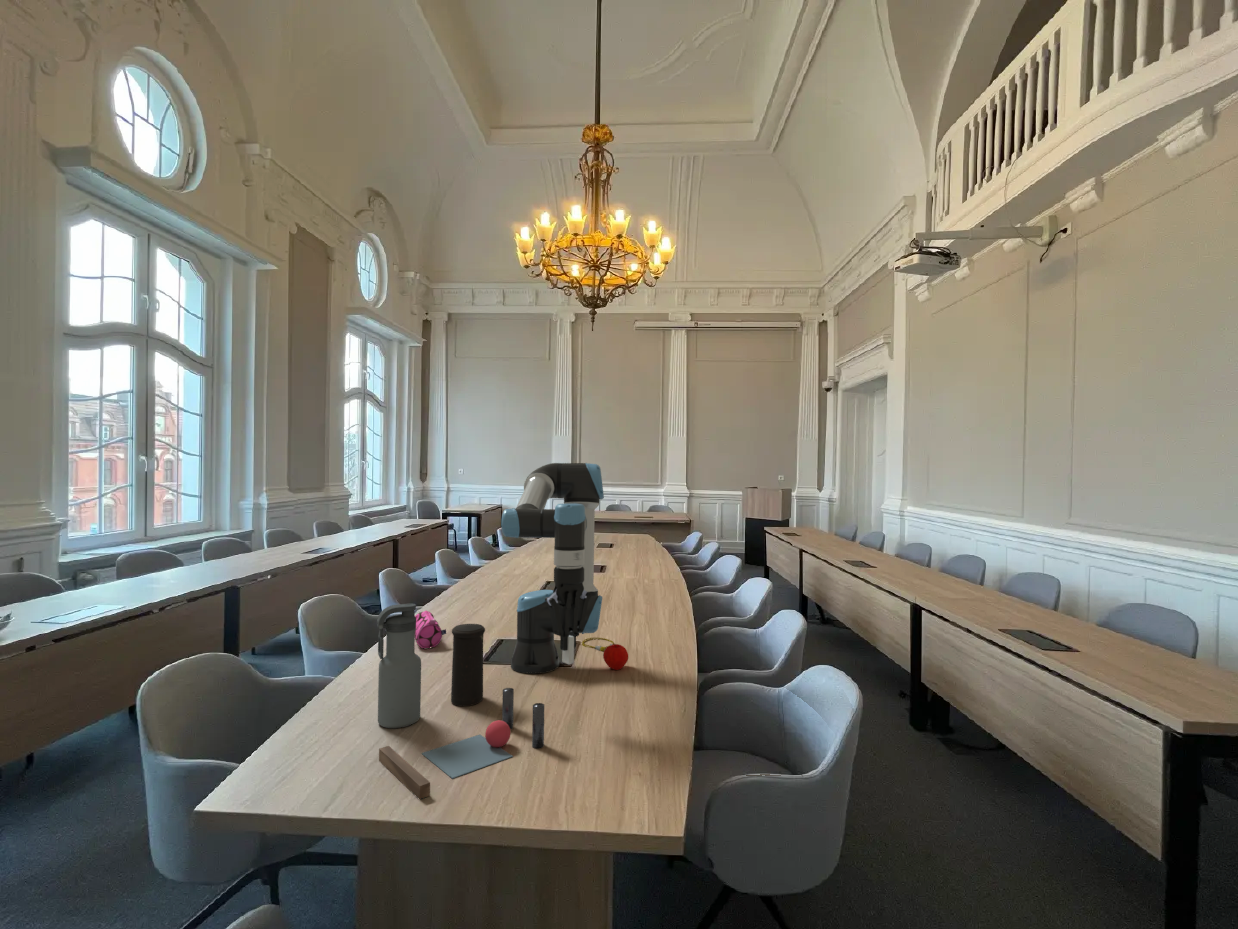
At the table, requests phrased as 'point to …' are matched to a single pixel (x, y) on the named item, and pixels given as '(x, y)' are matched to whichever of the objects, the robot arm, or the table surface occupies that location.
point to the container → (467, 664)
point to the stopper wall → (404, 772)
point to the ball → (497, 733)
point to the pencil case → (427, 630)
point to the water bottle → (398, 668)
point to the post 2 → (538, 726)
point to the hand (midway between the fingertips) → (567, 662)
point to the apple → (615, 656)
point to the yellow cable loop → (597, 646)
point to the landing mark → (466, 756)
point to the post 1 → (508, 706)
